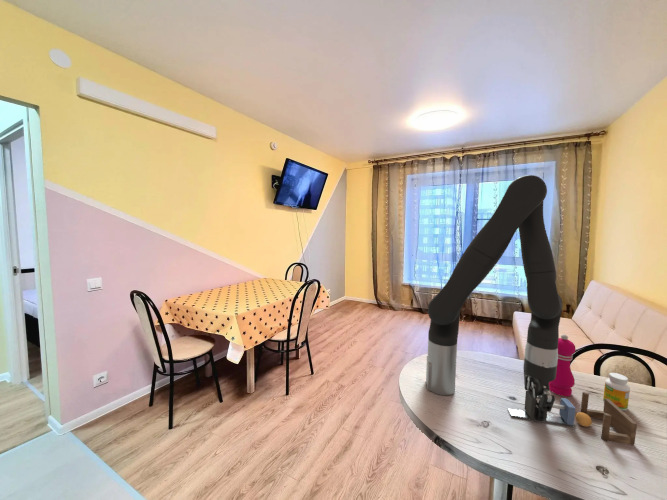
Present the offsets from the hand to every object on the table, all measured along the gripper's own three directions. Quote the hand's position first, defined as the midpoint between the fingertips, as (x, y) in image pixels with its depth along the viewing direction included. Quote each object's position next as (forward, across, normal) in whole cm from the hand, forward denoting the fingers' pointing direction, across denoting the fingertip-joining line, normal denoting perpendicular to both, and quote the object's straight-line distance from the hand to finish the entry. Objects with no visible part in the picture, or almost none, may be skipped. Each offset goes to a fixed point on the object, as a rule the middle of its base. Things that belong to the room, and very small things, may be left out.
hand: (535, 413), depth 80 cm
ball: (-1, 0, +12) cm, 12 cm away
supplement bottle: (+1, -12, +27) cm, 30 cm away
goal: (+1, 0, +17) cm, 17 cm away
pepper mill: (+1, -16, +14) cm, 22 cm away
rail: (+1, 0, +1) cm, 2 cm away
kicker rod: (0, 0, +3) cm, 3 cm away
